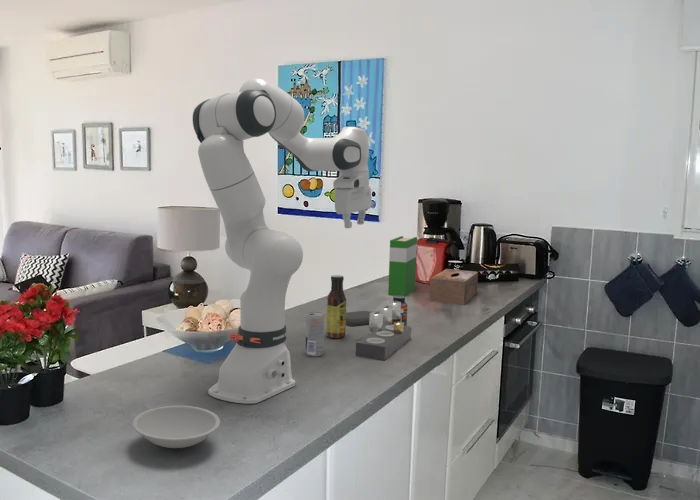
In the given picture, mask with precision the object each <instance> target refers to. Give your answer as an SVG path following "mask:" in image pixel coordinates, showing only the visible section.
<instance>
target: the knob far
mask: <svg viewBox="0 0 700 500" xmlns="http://www.w3.org/2000/svg"><path fill="white" fill-rule="evenodd" d="M387 304H388V305H387V306H389V307H392V319H400V316H401V302H398V301H394V300H390V301H388V302H387Z"/></svg>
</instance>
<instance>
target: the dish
mask: <svg viewBox="0 0 700 500" xmlns="http://www.w3.org/2000/svg"><path fill="white" fill-rule="evenodd" d="M220 425H221V420H220V417H219V416H218V415H217V414H216V413H214V412H213V411H211V410H209V409H206V408H203V407H199V406H193V405H179V404H178V405H165V406H159V407H154V408H150V409H148V410H145V411H142V412H140V413H139V414H137V415H136V416H135V417H134V418H133V420H132V428H133V430H134V431H135V432H136V433H138V434H140V435H141V436H142V437H144V439H146V440H147V441H149V443H152V444H153V445H154V444H155V445H157V446H158V447H159V446H160V447H162V448H167V449H183V448H189V447H192V446H195V445H197V444H199V443H201V442H203V441H204V440H205V439H207V438H208V437H209V436H210V435H211V434H212V433H214V432H215V431H216V430H218V429H219V427H220Z"/></svg>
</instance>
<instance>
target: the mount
mask: <svg viewBox="0 0 700 500" xmlns="http://www.w3.org/2000/svg"><path fill="white" fill-rule="evenodd" d="M411 337H412V326H404V330H403V333H401V334H397V333H394V324H392V325H387V326H385V325H383V331H381V332H371V331H370V332H369V333H368V334H367V335H365V336H364V337H362V338H360V339H359V340H358V341H356V342H355V356H356V357H360V358H368V359H374V360H381V361H386V360H387V359H388V358H390V357H391V356H392V355H393V354H394V353H395V352H396V351H398V350H399V349H400V348H401V347H403V346H404V345H405V344H406V343H407V342H408V341H410V340H411Z"/></svg>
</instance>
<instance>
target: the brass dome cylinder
mask: <svg viewBox="0 0 700 500" xmlns="http://www.w3.org/2000/svg"><path fill="white" fill-rule="evenodd" d="M403 330H404V323H403V322H394V333H397V334H401V333H403Z"/></svg>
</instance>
